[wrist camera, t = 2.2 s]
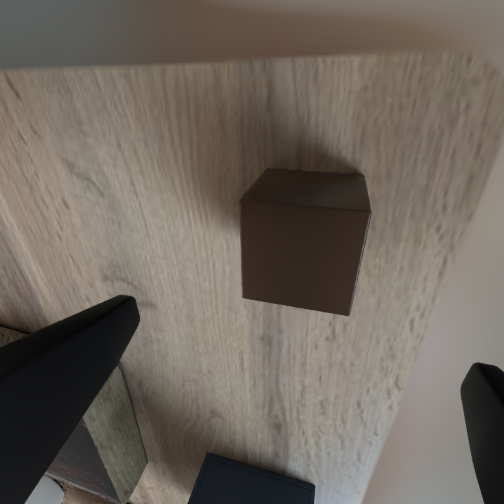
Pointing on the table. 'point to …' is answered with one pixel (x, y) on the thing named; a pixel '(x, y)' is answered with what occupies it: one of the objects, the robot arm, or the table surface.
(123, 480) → the hardback book
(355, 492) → the table surface
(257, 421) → the table surface
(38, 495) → the white plastic bottle
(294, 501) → the carton
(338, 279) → the block
